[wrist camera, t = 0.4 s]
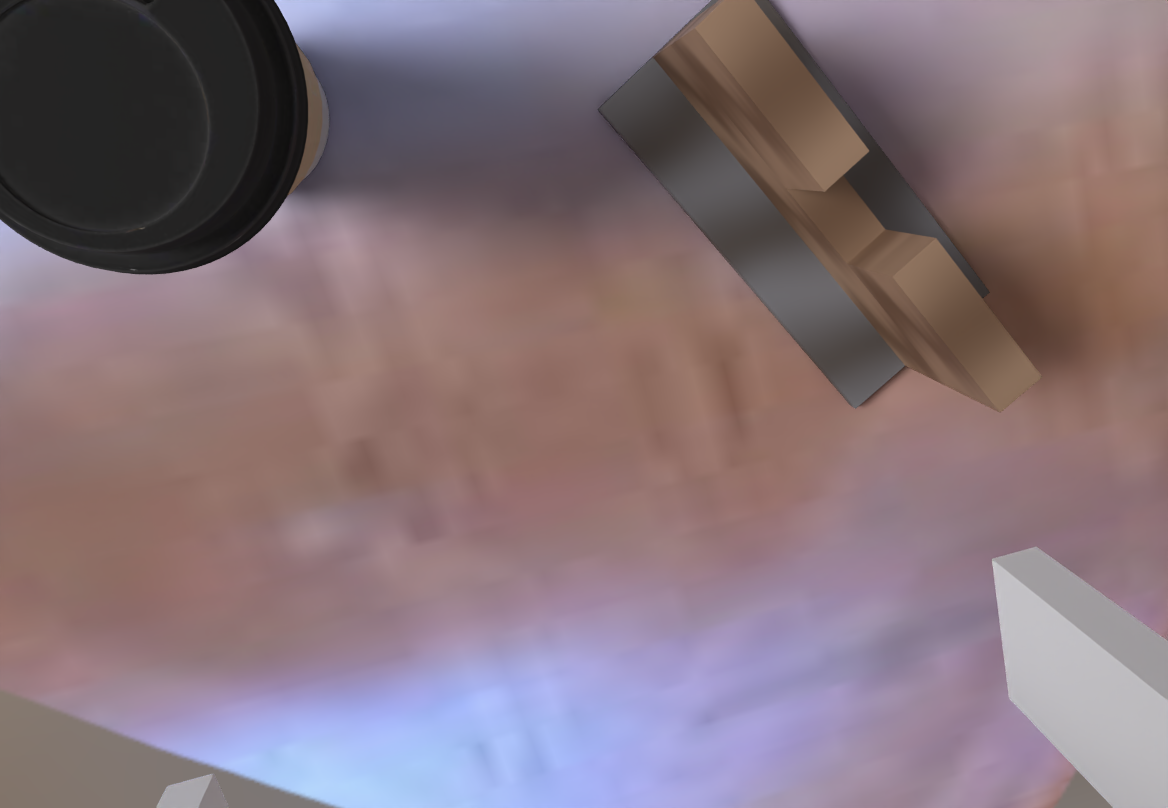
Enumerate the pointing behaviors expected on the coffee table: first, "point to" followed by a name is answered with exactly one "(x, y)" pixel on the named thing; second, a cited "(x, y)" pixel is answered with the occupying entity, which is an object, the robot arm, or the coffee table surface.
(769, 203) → the brown piece
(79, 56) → the coffee cup
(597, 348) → the coffee table surface
